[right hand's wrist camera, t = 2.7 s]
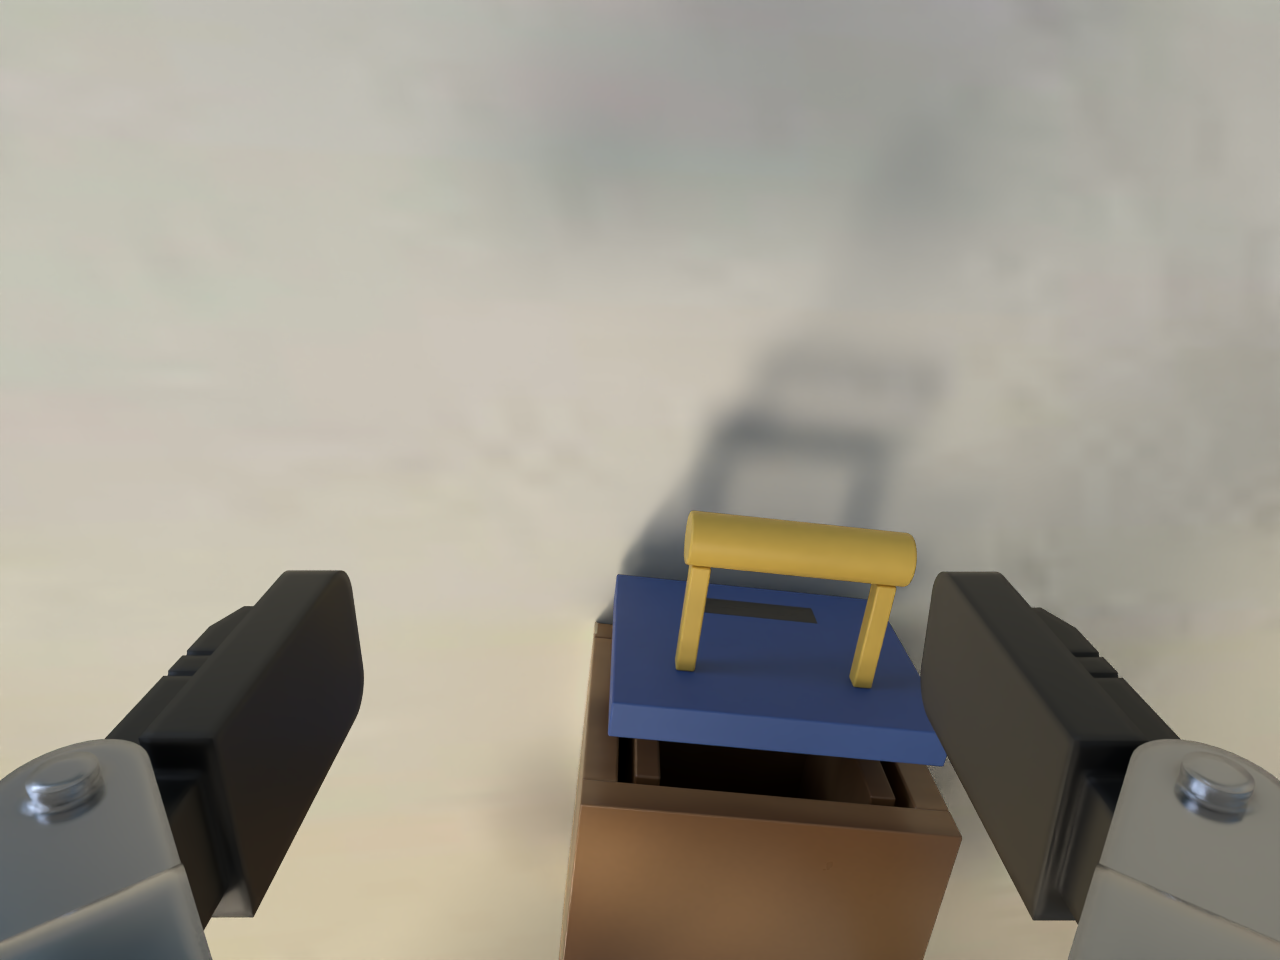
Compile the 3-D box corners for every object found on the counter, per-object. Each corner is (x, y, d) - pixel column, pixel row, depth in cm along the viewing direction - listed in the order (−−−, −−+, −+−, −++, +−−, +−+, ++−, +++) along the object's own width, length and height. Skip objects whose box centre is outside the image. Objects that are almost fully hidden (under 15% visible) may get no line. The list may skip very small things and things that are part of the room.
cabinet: (594, 622, 33) (579, 803, 23) (869, 648, 34) (963, 837, 24) (564, 900, 38) (541, 1142, 29) (802, 919, 39) (858, 1163, 29)
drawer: (632, 443, 29) (632, 538, 22) (908, 473, 30) (1002, 576, 22) (584, 849, 36) (571, 1030, 28) (811, 868, 36) (858, 1051, 29)
